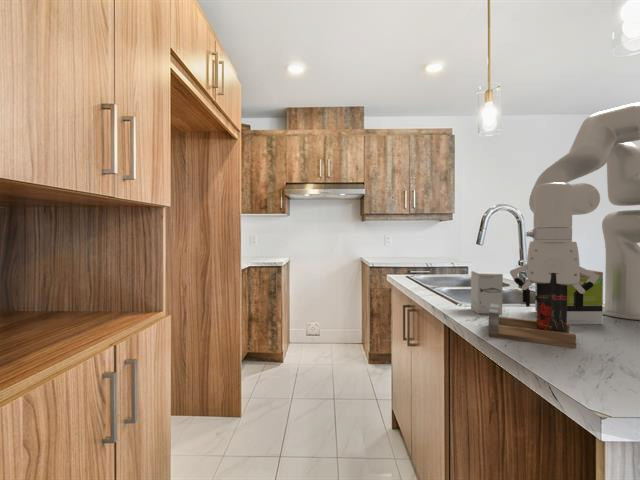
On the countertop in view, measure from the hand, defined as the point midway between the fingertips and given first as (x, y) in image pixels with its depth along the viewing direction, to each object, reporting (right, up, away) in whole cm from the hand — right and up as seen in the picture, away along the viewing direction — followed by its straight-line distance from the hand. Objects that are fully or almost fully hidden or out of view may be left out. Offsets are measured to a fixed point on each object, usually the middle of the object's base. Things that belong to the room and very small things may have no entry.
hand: (551, 307), depth 79 cm
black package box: (0, -7, 0) cm, 7 cm away
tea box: (+17, -7, +19) cm, 27 cm away
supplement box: (-2, -7, +27) cm, 28 cm away
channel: (-4, -7, +2) cm, 9 cm away
